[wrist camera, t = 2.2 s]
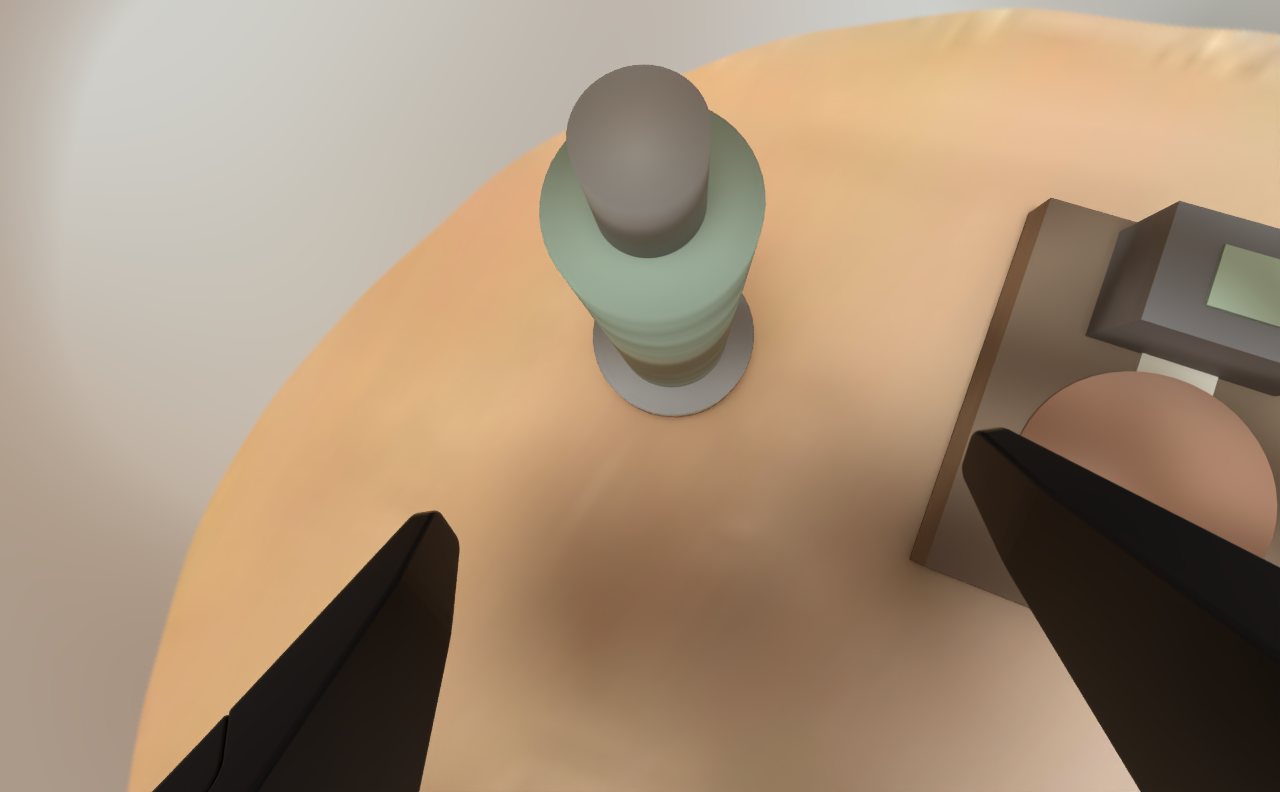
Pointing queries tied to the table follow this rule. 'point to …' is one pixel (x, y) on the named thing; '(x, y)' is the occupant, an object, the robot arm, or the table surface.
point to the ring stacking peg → (657, 237)
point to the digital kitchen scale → (1129, 375)
